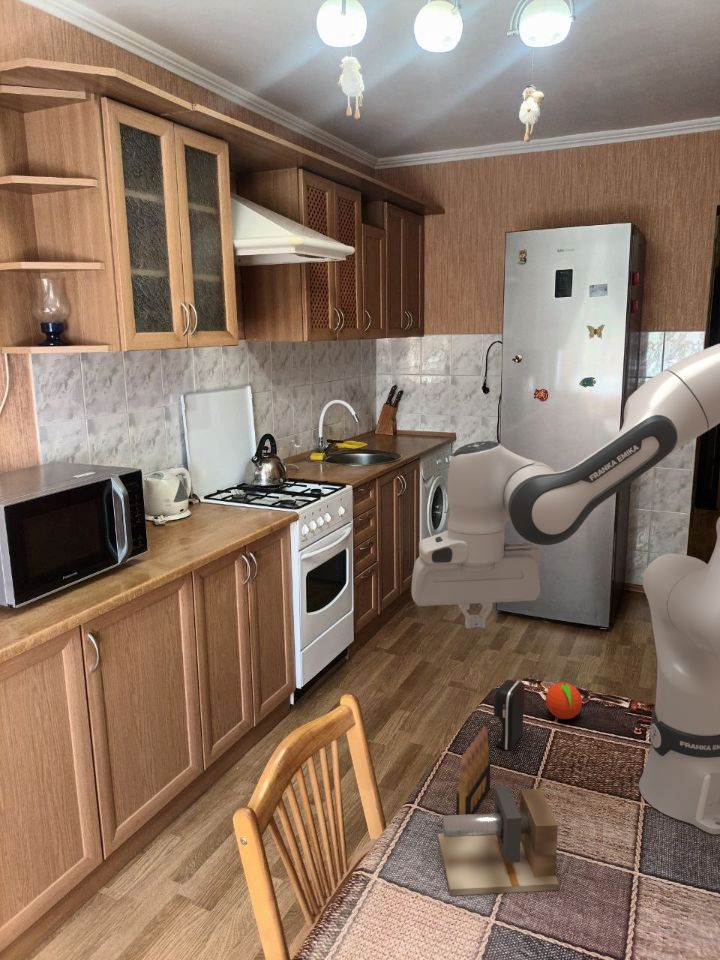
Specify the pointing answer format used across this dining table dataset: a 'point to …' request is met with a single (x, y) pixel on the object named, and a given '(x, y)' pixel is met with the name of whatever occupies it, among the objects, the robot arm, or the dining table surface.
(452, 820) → the steel pipe
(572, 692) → the clementine
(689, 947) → the dining table surface
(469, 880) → the pipe stand
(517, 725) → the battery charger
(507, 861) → the collar
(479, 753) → the ammunition clip
